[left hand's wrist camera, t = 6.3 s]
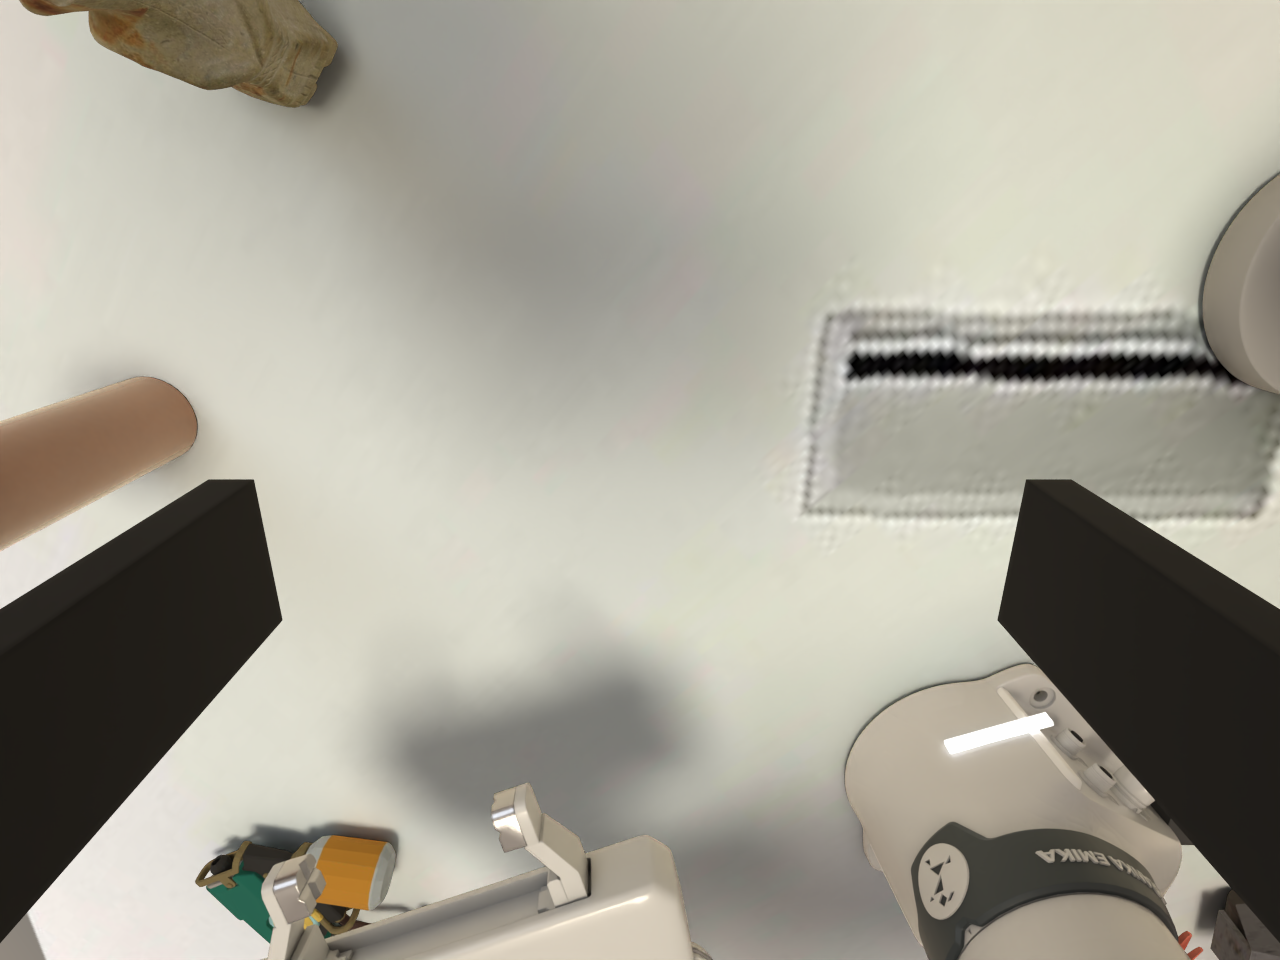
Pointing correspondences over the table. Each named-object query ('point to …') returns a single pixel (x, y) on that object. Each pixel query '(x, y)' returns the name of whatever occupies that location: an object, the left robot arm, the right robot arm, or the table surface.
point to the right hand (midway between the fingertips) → (397, 831)
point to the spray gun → (344, 862)
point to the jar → (86, 450)
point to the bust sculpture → (1248, 293)
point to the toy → (1242, 934)
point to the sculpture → (213, 42)
